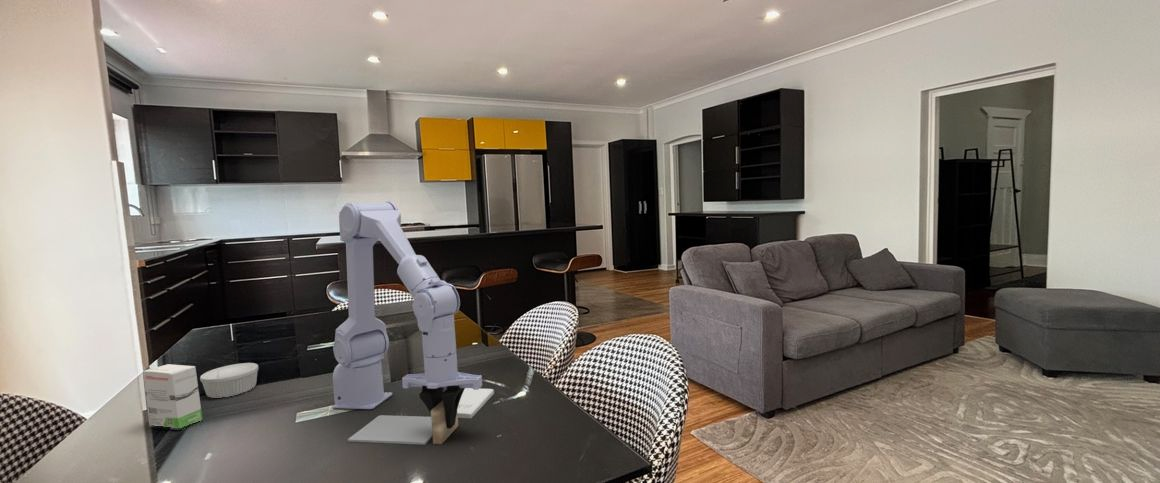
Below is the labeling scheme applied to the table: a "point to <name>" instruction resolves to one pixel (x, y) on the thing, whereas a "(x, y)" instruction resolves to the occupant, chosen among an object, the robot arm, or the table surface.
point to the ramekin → (230, 380)
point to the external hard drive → (472, 401)
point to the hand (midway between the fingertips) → (445, 425)
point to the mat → (396, 430)
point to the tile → (440, 424)
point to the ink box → (172, 396)
